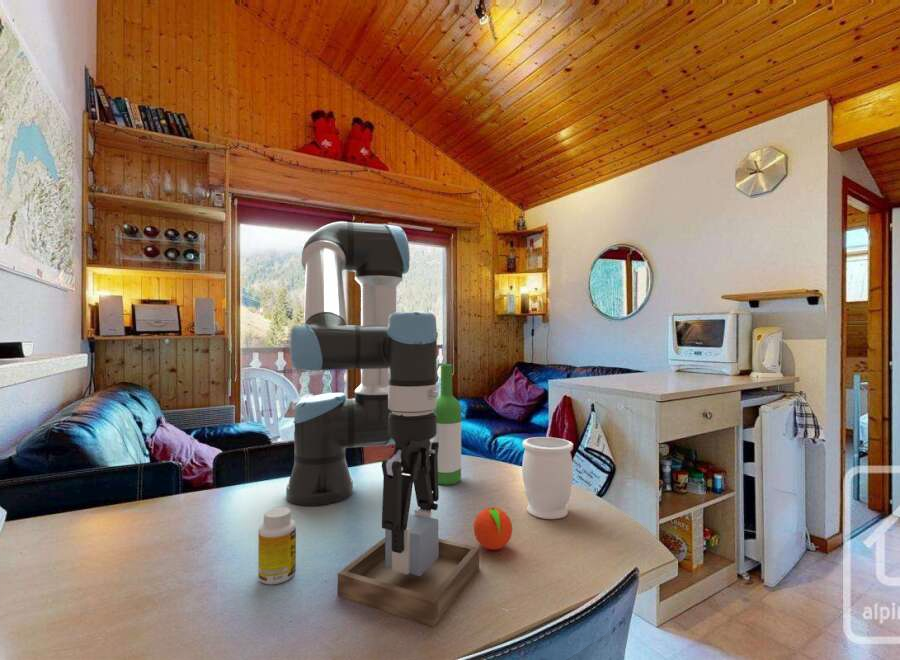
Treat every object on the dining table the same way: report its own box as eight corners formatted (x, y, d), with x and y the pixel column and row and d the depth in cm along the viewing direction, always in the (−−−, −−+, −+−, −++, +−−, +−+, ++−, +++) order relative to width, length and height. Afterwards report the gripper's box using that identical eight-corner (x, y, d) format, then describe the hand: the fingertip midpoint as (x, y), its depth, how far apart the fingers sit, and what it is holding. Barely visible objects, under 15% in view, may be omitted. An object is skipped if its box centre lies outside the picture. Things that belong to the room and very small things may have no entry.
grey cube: (385, 567, 67) (385, 527, 67) (406, 549, 73) (405, 513, 73) (420, 576, 65) (419, 534, 65) (438, 557, 70) (438, 519, 70)
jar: (568, 503, 99) (568, 436, 99) (577, 523, 89) (577, 449, 89) (520, 501, 100) (520, 435, 100) (523, 521, 90) (524, 447, 90)
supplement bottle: (296, 582, 68) (296, 516, 68) (257, 589, 67) (257, 521, 66) (295, 564, 74) (295, 502, 74) (259, 570, 72) (259, 507, 72)
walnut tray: (337, 595, 65) (337, 573, 65) (396, 547, 79) (396, 528, 79) (434, 627, 58) (434, 602, 58) (479, 568, 73) (479, 547, 73)
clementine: (519, 558, 76) (519, 517, 75) (479, 562, 74) (479, 520, 74) (505, 537, 83) (506, 499, 83) (469, 539, 82) (470, 501, 82)
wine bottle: (467, 480, 114) (467, 364, 114) (447, 488, 109) (447, 366, 108) (444, 473, 120) (445, 362, 119) (424, 481, 114) (425, 364, 114)
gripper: (400, 425, 58) (400, 600, 58) (459, 403, 76) (459, 539, 76) (354, 420, 62) (354, 586, 62) (421, 400, 79) (421, 530, 79)
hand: (412, 560), depth 69 cm, fingers closed on grey cube, 6 cm apart
